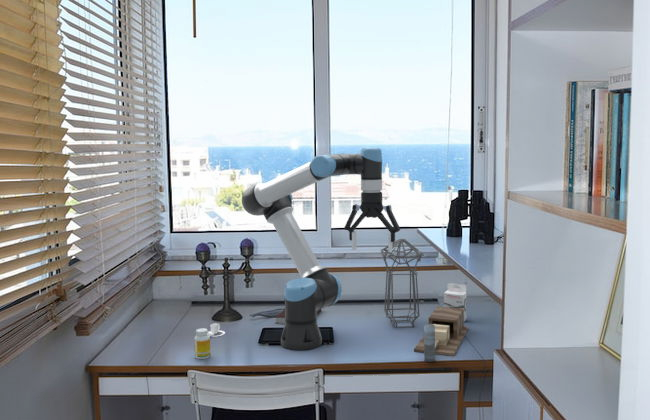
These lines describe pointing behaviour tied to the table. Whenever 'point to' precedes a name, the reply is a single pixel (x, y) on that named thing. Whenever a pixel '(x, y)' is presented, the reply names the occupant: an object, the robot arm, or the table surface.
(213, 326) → the teacup and saucer
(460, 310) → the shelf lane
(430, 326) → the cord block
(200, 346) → the supplement bottle
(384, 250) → the geometric lantern
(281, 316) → the book
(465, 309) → the ink box
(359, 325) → the table surface
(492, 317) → the table surface
